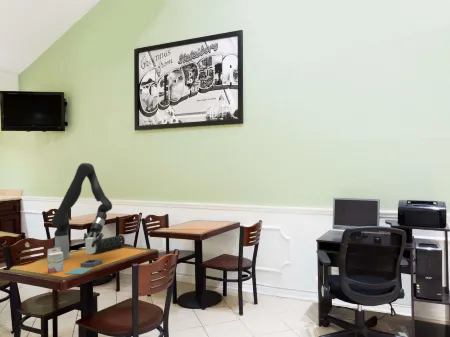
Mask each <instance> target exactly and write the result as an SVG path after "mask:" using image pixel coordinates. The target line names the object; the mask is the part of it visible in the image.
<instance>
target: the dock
mask: <svg viewBox="0 0 450 337" xmlns="http://www.w3.org/2000/svg"><path fill="white" fill-rule="evenodd" d="M101 264H103V259H87V260H85V261H83V262H80V267H79V268H96V267H97V266H99V265H101Z"/></svg>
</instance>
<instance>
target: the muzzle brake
mask: <svg viewBox="0 0 450 337" xmlns="http://www.w3.org/2000/svg"><path fill="white" fill-rule="evenodd" d="M125 241H126V240H125V237H124V236H123V235H121V234H119V235H115V236H110V237H106V238H102V239H101V240H100V242H97V243H96V244H95V254H96V253H103V252H104V251H111V250H115V249H119V248H122V247H123V246H124V245H125Z"/></svg>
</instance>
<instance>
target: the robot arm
mask: <svg viewBox="0 0 450 337" xmlns="http://www.w3.org/2000/svg"><path fill="white" fill-rule="evenodd" d="M93 165H94V164H91V163H88V162H82V163H80V164H79V165H78V167H77V169H76V171H75V174H74V177H73V179H72V181H71V183H70V185H69V187H68V189H67V191H66V193H65V195H64V196H63V199H62V201H61V203H60V205H59V207H57V208H58V209H57V210H56V211H55V213H54V215H53V217H52V218H51V224H52V225H53V226H54V227H56V230H55V231H54V246H53V248H59V247H61V252H63V260H68V259H70V245H69V244H70V243H69V241H70V240H69V231H70V218H69V216H68V213H69V211H70V210H71V209H72V208H73V207H74V205H75V204H76V203H77V202H78V200H79V199H80V197H81V193H82V188H83V183H84V181H85V179H86V177H87V179H88V181H89V184H90V188H91V192H92V194H93V197H94V199H95V200H96V202H100V203H101V204H100V205H99V206H98V208H97V211H96V216H95V218H94V220H93V222H92V224H91V227H90V229H89V231H88V233H86V232H84V234H83V241H84V242H85V239H86V238H90V237H94V241H93V243H92V245H91V246H92V247H94V246H95V244H96V243H97V242H100V240H101V239H103V237H104V234H103V232H102V230H103V229H104V226H105V223H106V219H107V217H108V215H107V213H108V212H109V211H111V210H112V208H113V204H112V202H111V201H110V200H109V198H108V197H107V196H106V194H105V193H104V190H103V188H102V187H101V184H100V181H99V180H98V177H97V174H96V170H95V167H94V166H93ZM83 246H84V247H85V248H86V245H85V243H84V244H83ZM53 251H56V250H55V249H54V250H53Z"/></svg>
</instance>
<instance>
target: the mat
mask: <svg viewBox="0 0 450 337" xmlns="http://www.w3.org/2000/svg"><path fill="white" fill-rule="evenodd" d="M91 270H93V267H75V268H73V269H71V270H69V271H66V272H64V274H63V275H84V274H85V273H88V272H89V271H91Z"/></svg>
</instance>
